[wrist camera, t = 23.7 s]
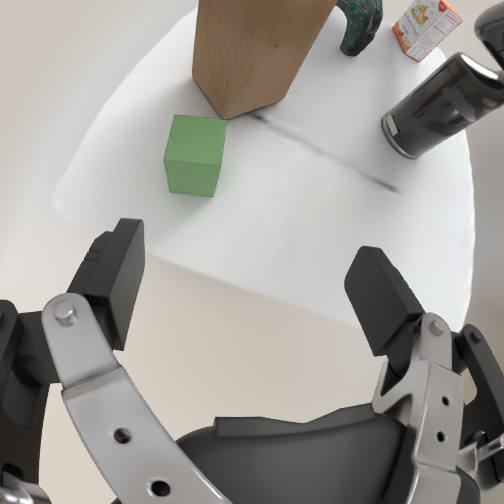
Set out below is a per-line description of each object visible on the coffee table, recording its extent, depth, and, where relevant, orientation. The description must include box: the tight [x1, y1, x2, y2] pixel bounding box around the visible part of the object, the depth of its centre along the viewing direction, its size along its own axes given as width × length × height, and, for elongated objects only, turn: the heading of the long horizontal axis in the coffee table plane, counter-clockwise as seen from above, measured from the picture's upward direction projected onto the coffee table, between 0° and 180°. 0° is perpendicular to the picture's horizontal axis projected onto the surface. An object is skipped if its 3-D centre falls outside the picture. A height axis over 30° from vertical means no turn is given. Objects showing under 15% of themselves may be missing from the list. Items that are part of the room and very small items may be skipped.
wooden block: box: [192, 0, 338, 119], centre depth 24 cm, size 10×10×20 cm
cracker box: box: [393, 0, 462, 62], centre depth 38 cm, size 14×6×21 cm, turn 174°
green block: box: [164, 115, 227, 197], centre depth 26 cm, size 5×5×8 cm
